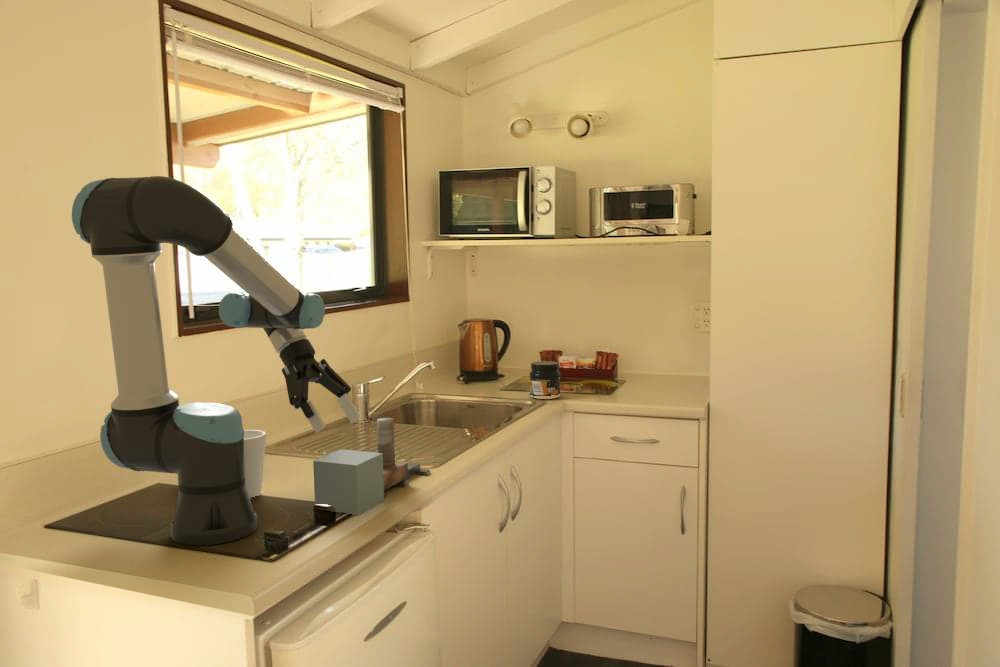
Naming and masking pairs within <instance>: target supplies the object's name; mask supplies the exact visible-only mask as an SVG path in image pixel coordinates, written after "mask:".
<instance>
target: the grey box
mask: <svg viewBox="0 0 1000 667" xmlns="http://www.w3.org/2000/svg"><path fill="white" fill-rule="evenodd" d="M312 462H313V463H312V466H313V486H314V490H313V491H314V505H315V504H328V505H333V506H334V507H335V508H336V509H337V511H338V512H345V513H350V514H352V515H351V516H360V515H362V514H363V513H365V512H367V511H369V510H370V509H372V508H374V507H376V506H378V505H380V504H382V503H384V502H385V498H384V493H385V491H384V482H383V453H378V452H375V451H374V452H372V451H361V450H352V449H343V448H342V449H341V448H340V449H339V450H336V451H333V452H331V453H329V454H326V455H324V456H321V457H319V458H316V459H314V460H313V461H312Z"/></svg>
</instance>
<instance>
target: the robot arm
mask: <svg viewBox="0 0 1000 667" xmlns="http://www.w3.org/2000/svg"><path fill="white" fill-rule="evenodd" d="M71 221H72V225H73V229H74V230H75V232H76V234H77V235H79V238H80V239H81V240H82V241H84V242H85V243H87V244H89V245H90V249H91V250H90V251H91V257H93V259H95V260H96V261H97V262H98V263H100V264H101V266H102V271H103V278H104V280H103V281H104V286H105V294H106V303H107V310H108V311H107V312H108V318H109V319H108V320H109V328H110V335H111V344H112V350H113V361H114V368H115V377H116V384H117V391H118V392H117V393H118V395H117V397H115V398H114V400H113V401H112V402H111V403H110V409H111V411H109V413H108V414H107V415H106V416H105V418H104V420H103V422H104V424H103V425H101V427H100V433H99V438H100V445H101V449H102V452H103V453H104V455H105V456H106V458H107V459H108V460H109V461H110V462H111V463H112V464H114V465H115V466H118V467H119V468H122V469H123V468H124V469H129V470H131V471H134V472H152V473H154V472H155V473H165V474H166V473H167V474H176V475H177V484H178V485H177V487H178V496H177V501H176V503H175V506H174V510H173V511H174V512H173V517H172V520H170V530H169V532H170V538H171V540H172V541H173V542H175V543H178V544H182V545H187V546H188V545H189V546H211V545H218V544H219V545H220V544H224V543H229V542H233V541H236V540H241V539H243V538H246V537H247V536H249V535H251V534H253V533H254V532H255V531H256V530H257V529H258V514H257V512H256V510H255V509H254V507H253V504H252V501H251V498H250V497H249V494H248V492H247V489H246V483H245V459H244V430H245V429H244V426H243V425H244V424H243V417H242V415H241V412H240V411H239V410H238V409H237V408H235V407H234V406H231V405H227V404H224V403H218V402H209V401H208V402H204V401H202V402H201V401H199V402H194V401H193V402H188V403H183V404H180V401H179V395H178V394H176V393H175V391H173V390H171V388H170V387H169V382H168V380H169V379H168V372H167V365H166V362H167V361H166V354H165V346H164V335H163V328H162V318H161V312H160V303H159V302H160V300H159V293H158V282H157V276H156V275H157V274H156V266H155V265H156V264H155V262H156V260H157V259H158V258H159V256H160V255H161V254H162V253H163V248H162V244H170V245H171V244H172V245H176V246H179V247H182V248H184V249H186V250H187V251H188V252H190V253H191V254H192V255H194V256H199V257H204V258H206V259H207V260H208V261H209V262H210V263H211V264H213V266H215V267H216V268H217V269H218V270H219V271H221V272H222V273H223V274H224V275H225V276H227V277H228V278H229V279H230V280H231V281H232V282H234V283H235V284H236V285H238V286H239V288H240V289H242V290H243V291H244V292H239V291H238V292H230V293H227V294H226V295H224V296H223V297H222V299H220V301H219V306H218V315H219V318H220V320H221V321H222V322H223V324H224V325H225V326H228V327H230V328H236V329H241V328H247V329H248V328H252V329H253V328H255V329H256V328H257V329H258V328H259V329H260V328H261V329H263V330H264V332H265V333H266V335H267V337H268V339H269V342H270V343H271V344H272V347H273V348H274V350H275V352H276V353H277V354H279V358H280V361H282V363H283V366H284V367H283V368H282V369H281V372H282V374H283V377H284V379H285V385H286V391H287V394H288V400H289V405H291V406H294V407H293V408H295V410H299V409H301V411H302V413H303V415H304V417H305V418H306V419H307V421H308V422H309V424H310V425H311V427H312V429H313V430H314V431H313V432H315V434H317V433H319V432H320V431H322V429H324V428H325V427H326V426H327V424H326V423H325V421H324V420H323V418H322V416H321V414H320V413H319V411H318V409H317V407H316V406H315V404H314V403H313V401H312V400H309V383H315V384H319V385H320V386H322V387H324V388H325V389H326V390H327V391H328V392H331V393H332V394H333V395H334V396H336V397H337V398H338V399H337V402H338V403H339V405H340V408H341V409H342V410H343V412H344V414H345V415H346V418H347V419H348V420H349V422H350V424H353V423H355V422H356V421H357V420H359V419H360V418H361V417H362V416H361V414H360V413H359V411H358V409H357V408H356V406H355V404H354V402H353V401H352V399H351V397H350V396H349V393H350V392H351V390H352V388H351V386H350V385H349V384H348V383H347V382H346V381H345V379H343V378H342V377H341V376H340V375H339V373H337V372H336V371H335V370H334V369H333V368H332V367H331V366H330V365H329V363H328V361H327V360H326V359H324V358H322V359H321V360H320V361H317V360H316V359H315V354H316V350H315V348H314V347H313V345H312V343H311V342H310V340H309V339H308V338H307V335H306V333H305V332H304V330H305V329H308V330H309V329H316V328H318V327H320V326H321V324H322V323H323V321H324V318H325V315H326V313H325V312H326V307H325V303H324V300H323V298H322V297H321V296H320V295H319V294H316V293H310V292H307V293H304V292H302V291H300V289H298V287H297V286H295V284H294V283H292V282H291V281H290V280H289V279H288V277H286V276H285V275H284V274H283V273H282V272H281V271H280V270H279V269H278V268H277V267H276V266H275V265H273V263H272V262H270V260H268V259H267V258H266V257H265V256H264V255H263V253H261V252H260V251H259V250H258V249H257V248H255V246H253V245H252V243H251V242H249V241H248V239H247V238H245V237H244V236H243V235H242V234H241V233H240V232H239V231H238V230H237V228H235V227H234V222H233V220H232V217H231V216H230V215H229V214H228V213H227V212H226V211H225V209H223V208H222V207H221V206H219V205H218V203H216V202H215V201H213V199H211V198H210V197H208V196H207V195H205V193H202V191H200V190H198V189H196V188H195V187H193V186H191V185H189V184H188V183H185V182H183V181H181V180H179V179H176V178H172V177H169V176H162V175H152V176H139V177H136V176H135V177H110V178H104V179H99V180H94V181H91V182H88V183H87V184H86V185H84V186H82V188H81V190H80V191H79V192H78V193H77V194H76V196H75V197H74V200H73V203H72V207H71Z"/></svg>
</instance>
